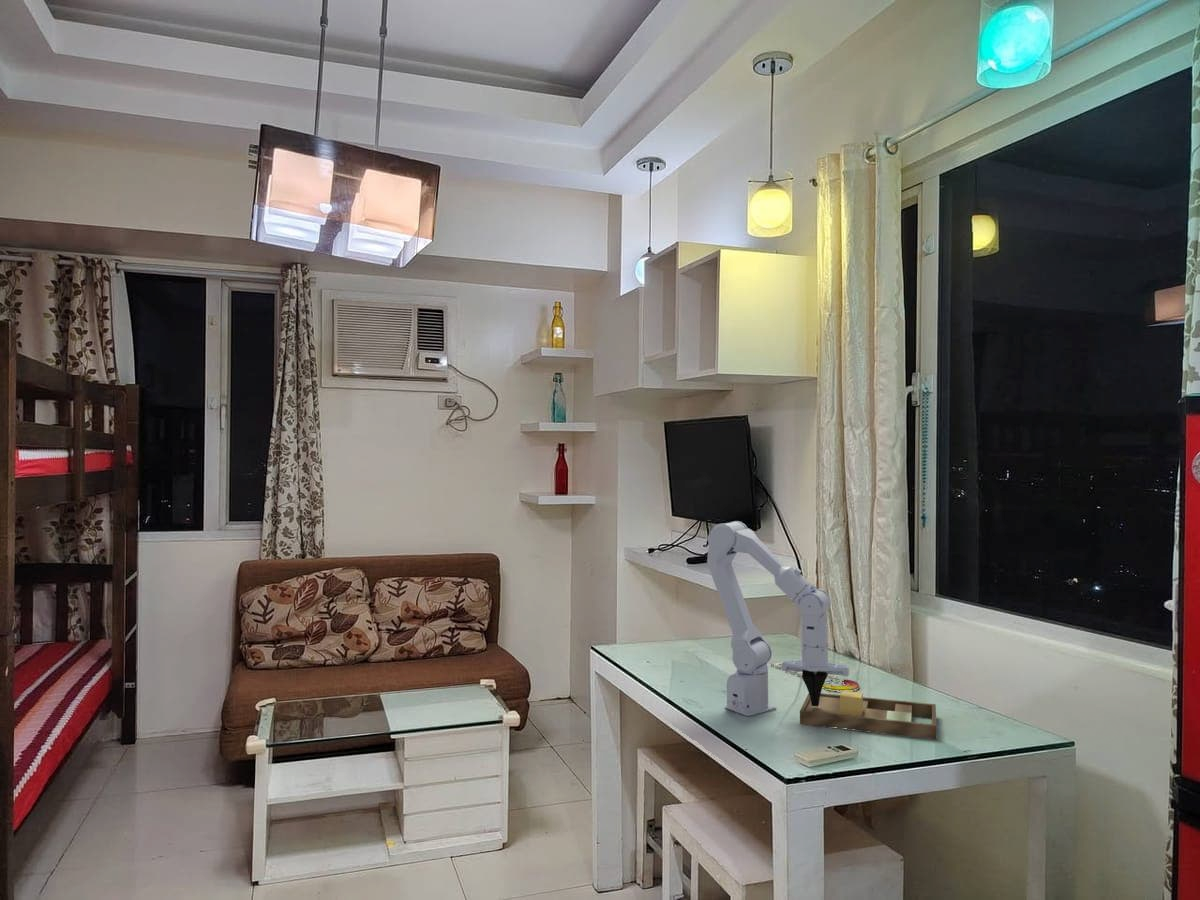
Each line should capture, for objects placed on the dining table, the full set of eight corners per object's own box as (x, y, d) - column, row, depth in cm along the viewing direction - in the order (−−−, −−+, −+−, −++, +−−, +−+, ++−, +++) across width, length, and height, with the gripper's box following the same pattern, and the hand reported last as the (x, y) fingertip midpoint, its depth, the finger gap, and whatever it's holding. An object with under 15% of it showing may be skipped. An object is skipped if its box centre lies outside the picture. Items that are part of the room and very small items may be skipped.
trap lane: (799, 724, 182) (799, 711, 182) (809, 704, 196) (809, 691, 196) (936, 739, 171) (936, 725, 171) (935, 717, 186) (935, 704, 186)
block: (839, 714, 181) (839, 696, 181) (841, 708, 185) (841, 690, 185) (861, 716, 179) (861, 698, 179) (862, 710, 183) (862, 692, 183)
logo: (867, 686, 208) (836, 691, 204) (867, 690, 208) (836, 695, 204) (794, 660, 235) (765, 663, 231) (794, 663, 235) (766, 668, 231)
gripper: (779, 646, 184) (779, 706, 184) (846, 651, 179) (847, 713, 179) (784, 639, 191) (785, 697, 191) (849, 644, 185) (850, 704, 185)
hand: (815, 704), depth 185 cm, fingers closed
